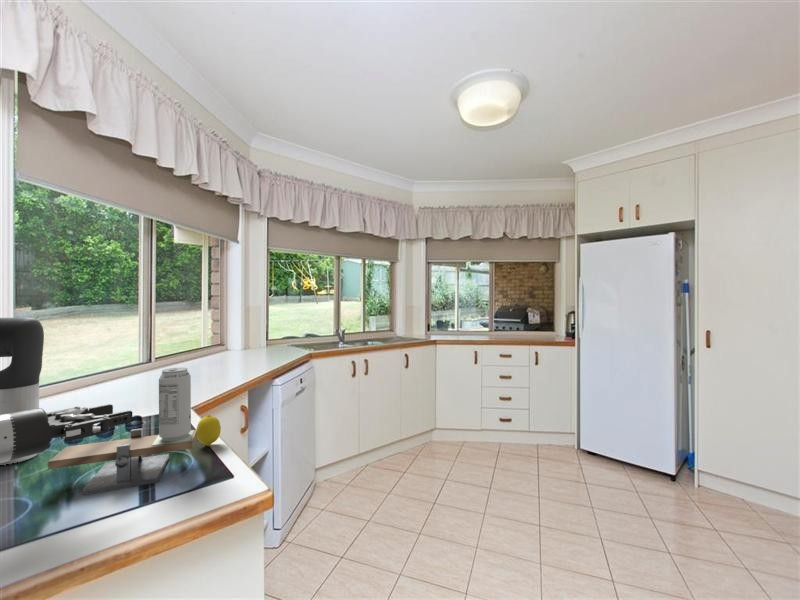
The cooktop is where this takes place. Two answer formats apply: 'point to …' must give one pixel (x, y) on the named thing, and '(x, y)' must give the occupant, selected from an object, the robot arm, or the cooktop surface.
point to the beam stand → (127, 470)
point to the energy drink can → (174, 404)
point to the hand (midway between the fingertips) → (121, 412)
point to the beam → (109, 450)
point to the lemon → (208, 430)
